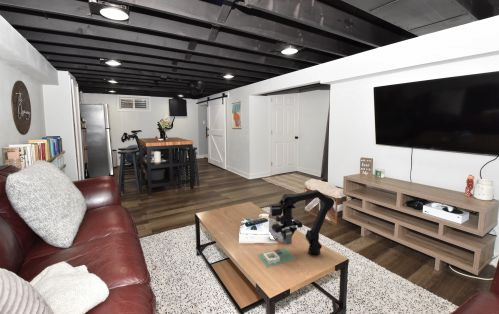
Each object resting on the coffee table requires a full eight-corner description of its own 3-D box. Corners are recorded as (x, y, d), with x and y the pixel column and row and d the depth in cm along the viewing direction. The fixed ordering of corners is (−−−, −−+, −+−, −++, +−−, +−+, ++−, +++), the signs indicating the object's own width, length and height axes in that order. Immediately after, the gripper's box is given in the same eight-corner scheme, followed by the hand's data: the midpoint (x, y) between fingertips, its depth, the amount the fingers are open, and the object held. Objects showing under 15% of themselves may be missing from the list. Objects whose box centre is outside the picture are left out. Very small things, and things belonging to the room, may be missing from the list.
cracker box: (268, 239, 170) (268, 212, 166) (273, 236, 174) (273, 209, 171) (285, 246, 161) (285, 217, 158) (289, 242, 166) (290, 214, 162)
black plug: (288, 240, 150) (288, 228, 148) (291, 243, 146) (291, 231, 144) (282, 241, 148) (282, 229, 147) (285, 244, 144) (286, 232, 143)
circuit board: (284, 249, 157) (284, 244, 156) (296, 260, 144) (296, 255, 143) (257, 256, 149) (257, 251, 149) (267, 269, 137) (267, 263, 136)
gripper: (293, 208, 155) (292, 230, 157) (267, 212, 148) (267, 236, 150) (303, 214, 145) (302, 238, 147) (276, 219, 138) (276, 244, 140)
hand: (287, 238), depth 146 cm, fingers closed on black plug, 4 cm apart
